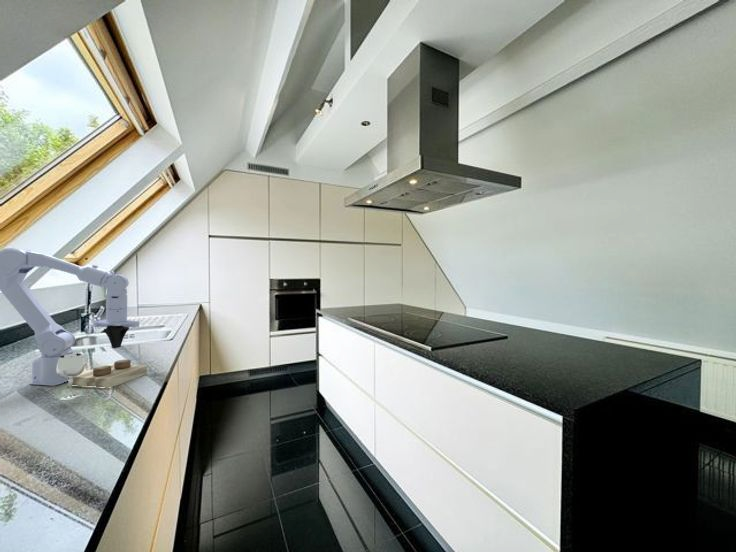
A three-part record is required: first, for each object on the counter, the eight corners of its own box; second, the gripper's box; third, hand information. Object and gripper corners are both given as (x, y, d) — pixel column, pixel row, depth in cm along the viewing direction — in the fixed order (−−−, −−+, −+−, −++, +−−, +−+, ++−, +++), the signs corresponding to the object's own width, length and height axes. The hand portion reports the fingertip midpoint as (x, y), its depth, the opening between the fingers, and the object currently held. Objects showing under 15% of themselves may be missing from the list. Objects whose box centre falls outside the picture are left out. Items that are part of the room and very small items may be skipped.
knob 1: (89, 384, 96) (89, 368, 95) (103, 379, 100) (103, 364, 100) (101, 385, 95) (101, 369, 95) (114, 380, 99) (114, 365, 99)
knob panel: (68, 386, 95) (68, 376, 95) (111, 371, 109) (111, 363, 109) (108, 388, 93) (108, 379, 93) (146, 373, 107) (146, 365, 107)
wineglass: (51, 399, 85) (51, 357, 85) (77, 392, 90) (77, 352, 90) (63, 403, 83) (63, 359, 83) (89, 395, 88) (89, 354, 88)
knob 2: (110, 377, 102) (110, 362, 102) (122, 373, 107) (122, 358, 107) (122, 378, 102) (122, 362, 102) (133, 373, 106) (134, 359, 106)
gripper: (85, 309, 102) (85, 350, 102) (128, 310, 102) (127, 350, 102) (103, 307, 109) (103, 345, 109) (143, 308, 109) (143, 345, 109)
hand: (116, 347), depth 106 cm, fingers closed
